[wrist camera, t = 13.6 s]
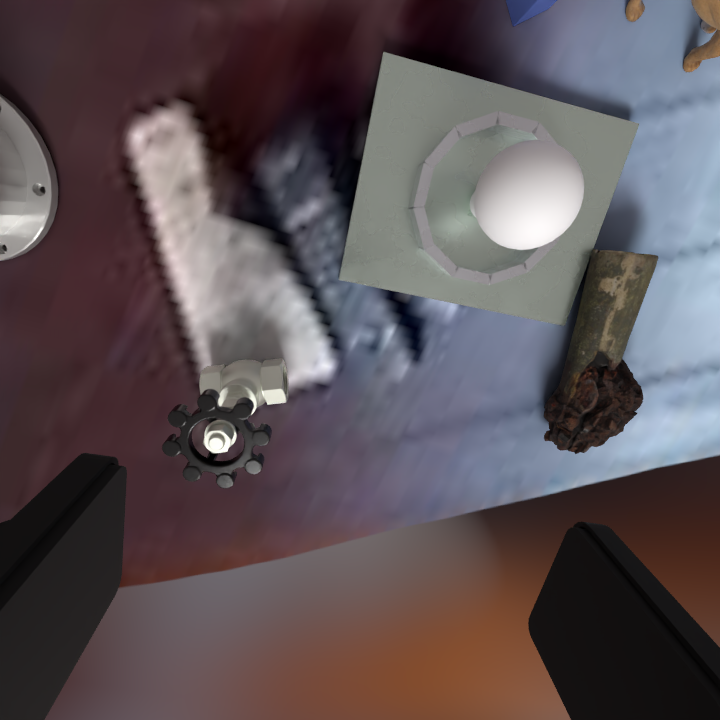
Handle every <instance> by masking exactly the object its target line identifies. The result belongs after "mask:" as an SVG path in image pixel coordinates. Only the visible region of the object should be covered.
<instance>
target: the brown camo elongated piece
mask: <svg viewBox="0 0 720 720" xmlns="http://www.w3.org/2000/svg"><path fill="white" fill-rule="evenodd" d="M657 260H658V256H656V255H649V254H637V253H633V252H623V251H612V250H601V251H599V250H596V249H593V251H592V253H591V257H590V262H589V266H588V270H587V275H586V279H585V283H584V289H583V293H582V297H581V301H580V305H579V310H578V315H577V320H576V324H575V327H574V331H573V335H572V338H571V342H570V346H569V351H568V355H567V359H566V362H565V366H564V370H563V374H562V378H561V381H560V384H559V386H558V387H557V390H556V391H555V392H554V393H553V395H552V396H551V397H550V398H549V400H548V401H547V402H546V404H545V407H544V408H545V412H544V417H545V418H546V420H547V421H548V422H549V429H550V430H549V431H546V433H545V435H544V439H545V441H552V442H554V444H555V445H557V448H558V449H559V450H568V451H571V452H575V454H577V453H579V452H583V453H585V452H586V451H587V450H588V449H589V448H590V447H591V446H594V447H598V446H601V445H603V444H604V443H605V442H606V441H607V440H608V439H609V437H612V436H616V435H617V434H619V433H620V432H622V431H623V429H624V426H625V424H627V423H628V422H629V421H630V420H631V419H632V418H633V417H634V416H635V415H636V414H637V413H636V412H635V411H636V410H637V409H638V408H639V407H640V406H641V404H642V402H643V401H642V400H643V393H642V389H641V386H640V385H639V384H638V383H637V381H636V380H635V379H634V378H633V374H632V372H630V370H629V368H628V366H627V364H626V363H625V362H624V360H623V359H622V357H623V354H624V351H625V348H626V345H627V342H628V339H629V336H630V334H631V331H632V329H633V326H634V323H635V321H636V318H637V315H638V313H639V310H640V307H641V304H642V302H643V299H644V296H645V294H646V291H647V288H648V286H649V283H650V280H651V278H652V275H653V273H654V270H655V267H656V264H657Z"/></svg>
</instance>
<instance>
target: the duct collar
mask: <svg viewBox="0 0 720 720" xmlns="http://www.w3.org/2000/svg"><path fill="white" fill-rule="evenodd" d="M638 126H639V124H638V123H634V122H631V121H627V120H624V119H620V118H617V117H613V116H609V115H606V114H602V113H599V112H595V111H592V110H588V109H585V108H581V107H577V106H574V105H570V104H567V103H563V102H560V101H556V100H553V99H549V98H546V97H542V96H538V95H535V94H531V93H528V92H524V91H521V90H517V89H514V88H510V87H506V86H503V85H499V84H496V83H492V82H489V81H485V80H482V79H478V78H475V77H471V76H467V75H464V74H460V73H457V72H453V71H450V70H446V69H443V68H439V67H435V66H432V65H428V64H425V63H421V62H418V61H414V60H411V59H407V58H404V57H400V56H396V55H393V54H389V53H386V52H383V55H382V58H381V64H380V69H379V74H378V79H377V84H376V89H375V94H374V100H373V105H372V110H371V115H370V120H369V125H368V130H367V135H366V141H365V146H364V151H363V156H362V161H361V166H360V171H359V176H358V182H357V187H356V192H355V197H354V202H353V207H352V212H351V217H350V223H349V228H348V233H347V238H346V243H345V248H344V253H343V258H342V264H341V269H340V274H339V280H343V281H348V282H353V283H358V284H362V285H367V286H372V287H377V288H382V289H387V290H392V291H397V292H401V293H406V294H411V295H416V296H421V297H426V298H431V299H436V300H440V301H445V302H450V303H455V304H460V305H465V306H470V307H475V308H479V309H484V310H489V311H494V312H499V313H504V314H509V315H514V316H518V317H523V318H528V319H533V320H538V321H543V322H548V323H553V324H557V325H562V326H565V324H566V321H567V318H568V316H569V313H570V310H571V308H572V305H573V302H574V299H575V297H576V294H577V291H578V289H579V286H580V283H581V280H582V278H583V275H584V272H585V270H586V267H587V264H588V262H589V259H590V256H591V253H592V251H593V248H594V245H595V243H596V240H597V237H598V234H599V232H600V229H601V226H602V224H603V221H604V218H605V216H606V213H607V210H608V207H609V205H610V202H611V199H612V197H613V194H614V191H615V188H616V186H617V183H618V180H619V178H620V175H621V172H622V169H623V167H624V164H625V161H626V159H627V156H628V153H629V151H630V148H631V145H632V142H633V140H634V137H635V134H636V132H637V129H638ZM527 140H544V141H549V142H553V143H555V144H557V145H560V146H561V147H563V148H565V149H566V150H567V151H568V152H570V153H571V154H572V155H573V157H574V158H575V159H576V160H577V162H578V164H579V166H580V168H581V171H582V174H583V178H584V196H583V201H582V204H581V208H580V210H579V212H578V214H577V216H576V218H575V220H574V221H573V222H572V224H571V225H570V227H569V228H568V229H567V230H566V231H565V232H564V233H563V234H561V235H560V236H559V237H557V238H556V239H555V240H553V241H552V242H550V243H547V244H545V245H543V246H540V247H537V248H533V249H528V250H517V249H510V248H506V247H503V246H501V245H499V244H497V243H496V242H494V241H493V240H491V239H490V238H489V237H488V236H487V235H486V234H485V232H484V231H483V230H482V228H481V227H480V225H479V223H478V221H477V218H476V217H475V216H474V215H473V214H472V212H471V210H470V199H471V196H472V194H473V193H474V192H475V190H476V186H477V183H478V181H479V178H480V176H481V174H482V173H483V171H484V169H485V168H486V166H487V165H488V164H489V163H490V161H491V160H492V159H493V158H494V157H495V156H496V155H497V154H499V153H500V152H501V151H503V150H504V149H506V148H508V147H510V146H512V145H514V144H516V143H519V142H523V141H527Z"/></svg>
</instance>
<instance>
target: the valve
mask: <svg viewBox="0 0 720 720" xmlns="http://www.w3.org/2000/svg"><path fill="white" fill-rule="evenodd" d="M200 394H201V396H200V397H199V398H198V401H197V403H198V406H199V408H198V409H197V410H196V411H195V412H194V413H193V414H191V413H189V412H188V411H187V410H186V408H187V406H186V405H183V404H180V405H177V406H175V407H174V409H173V410H172V411H171V412H170V413H169V415H168V421H169V423H170V424H171V425H172V426H174V427H179V428H180V429H181V434H180V437H176V434H172V435H170V436H169V437H168V438H167V440H166V441H165V443H164V444H163V446H162V450H163V452H164V453H165V454H166V455H168V456H171V457H174V456H177V455H179V454H183V455H184V456H185V457H186V458H187V459H188V461H189V462H188V463H187V465H186V467H185V468H184V470H183V476H184V478H185V479H186V480H188V481H191V482H193V481H197V480H198V479H199V478H200V477H201V475H202V473H203V472H211V473H214V474H216V476H217V479H216V482H217V484H218V486H219V487H221V488H230V487H231V486H232V485H233V484H234V481H235V479H236V476H237V472H233V471H234V470H236V469H238V468H240V467H243V468H245V470H246V471H247V472H248V473H250V474H257V473H259V472H260V471H261V470H262V467H263V463H264V456H263V455H262V454H261V453H259V455H258V456H257V455H255V454H253V447H254V446H255V445H258V446H264V445H266V444H268V443H269V441H270V437H271V434H272V430H271V428H270V426H268V425H267V424H261V425H260V427H258V428H255V426H254V424H252V423H250V422H248V420H247V418H249V417H250V416H251V415H252V414H253V413H254V411H255V410H256V407H258V406H260V405H262V404H263V403H265V402H267V405H269V404H277V403H286V401H287V400H288V397H289V383H288V374H287V369H286V365H285V362H284V360H283V359H282V358H278V359H269V360H264V362H263V364H262V363H261V362H258V361H255V360H249V359H244V360H238V361H235V362H233V363H231V364H229V365H228V366H227V367H226V365H225V364H224V365H215V366H207V367H206V368H204V369H203V370H202V372H201V375H200ZM205 419H207V420H208V421H209V422H210V423H209V424H208V426H207V428H206V430H205V438H204V441H203V444H204V445H205V447H206V448H207V449H208V450H209V451H210V452H209V454H208V456H207V458H206V457H204V456H202V455H201V454H200V453H199V452H198V451H197V450H196V449H195V447H194V445H193V442H192V430H193V428H194V426H195V425H196V424H198V423H199V422H201V421H203V420H205ZM239 432H241V433H242V435H243V438H244V449H243V451H242V452H241V453H240V454H239V455H238V456H237V457H235V458H233V459H231V460H228V461H215V460H216V457H217V455H218V453H222V452H227V451H228V448H229V447H230V446H231V445H233V444H234V442H235V440H236V438H237V435H238V433H239Z"/></svg>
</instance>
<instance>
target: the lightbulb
mask: <svg viewBox="0 0 720 720" xmlns="http://www.w3.org/2000/svg"><path fill="white" fill-rule="evenodd" d="M583 196H584V178H583V174H582V171H581V168H580V166H579V164H578V162H577V160H576V159H575V158H574V157H573V155H572V154H571V153H570V152H568V151H567V150H566V149H565V148H563V147H561V146H560V145H557V144H555V143H553V142H549V141H544V140H527V141H523V142H519V143H516V144H514V145H512V146H510V147H508V148H506V149H504V150H503V151H501V152H500V153H499V154H497V155H496V156H495V157H494V158H493V159H492V160H491V161H490V163H489V164H488V165H487V166H486V168H485V169H484V171H483V173H482V174H481V176H480V178H479V181H478V183H477V186H476V190H475V192H474V193H473V194H472V196H471V199H470V210H471V212H472V214H473V215H474V216H475V217H476V218H477V221H478V223H479V225H480V227H481V228H482V230H483V231H484V232H485V234H486V235H487V236H488V237H489V238H490V239H491V240H493V241H494V242H496V243H497V244H499V245H501V246H503V247H506V248H510V249H517V250H528V249H533V248H537V247H540V246H543V245H545V244H547V243H550V242H552V241H553V240H555V239H556V238H557V237H559V236H560V235H561V234H563V233H564V232H565V231H566V230H567V229H568V228H569V227H570V225H571V224H572V222H573V221H574V220H575V218H576V216H577V214H578V212H579V210H580V208H581V204H582V201H583Z"/></svg>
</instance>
